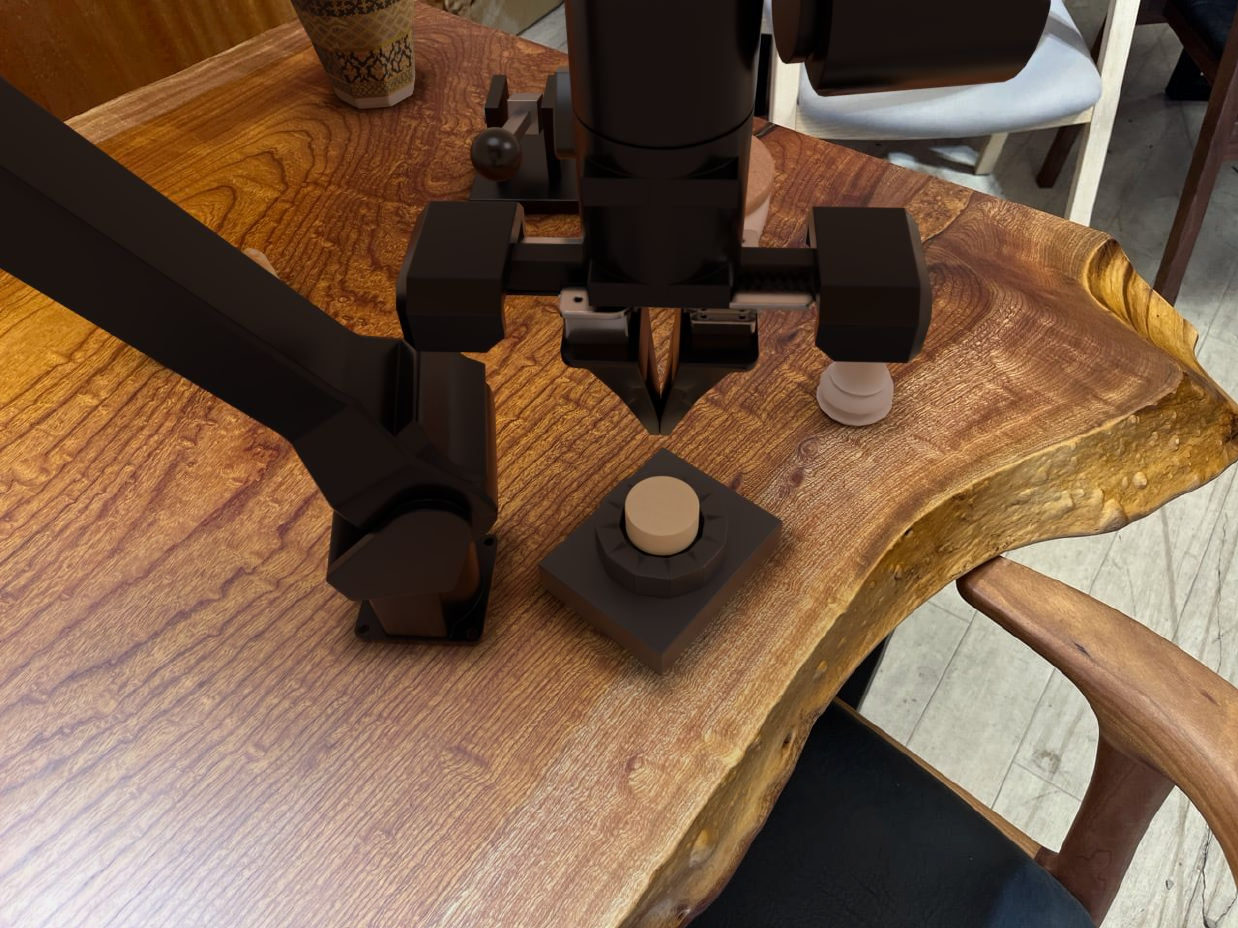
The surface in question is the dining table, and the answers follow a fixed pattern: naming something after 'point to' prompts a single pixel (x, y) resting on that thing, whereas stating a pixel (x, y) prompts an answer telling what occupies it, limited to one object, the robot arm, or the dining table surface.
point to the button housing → (660, 566)
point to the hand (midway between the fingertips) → (660, 427)
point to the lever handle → (507, 138)
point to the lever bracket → (530, 161)
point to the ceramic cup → (363, 47)
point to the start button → (662, 515)
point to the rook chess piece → (856, 392)
